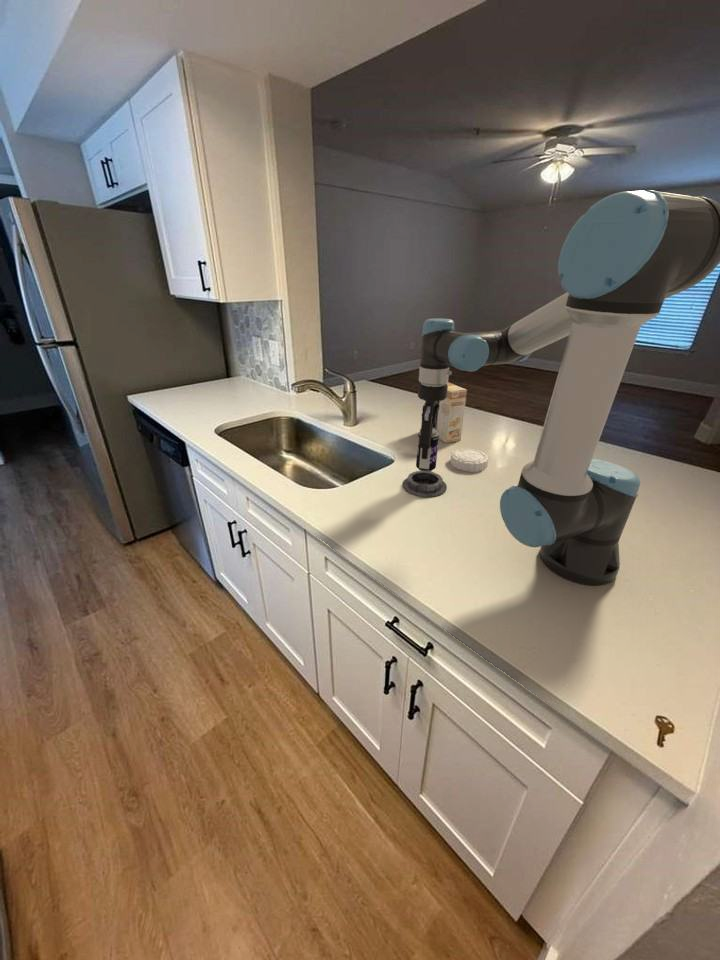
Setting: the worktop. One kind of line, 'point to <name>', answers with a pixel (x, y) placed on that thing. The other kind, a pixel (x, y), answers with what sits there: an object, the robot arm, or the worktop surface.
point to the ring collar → (424, 484)
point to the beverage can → (433, 451)
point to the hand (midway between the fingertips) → (426, 463)
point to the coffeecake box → (451, 414)
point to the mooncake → (469, 460)
